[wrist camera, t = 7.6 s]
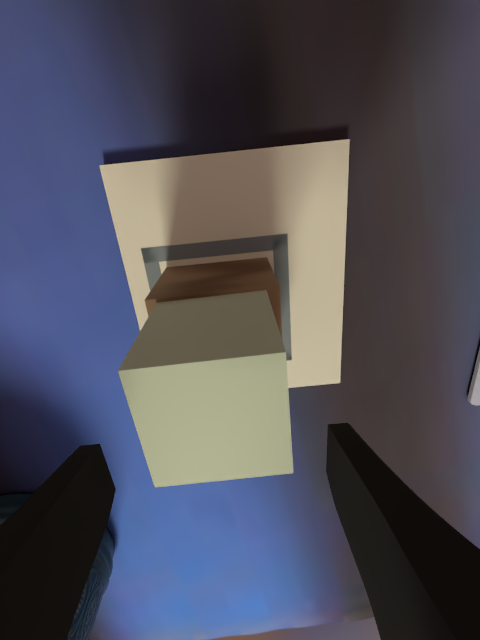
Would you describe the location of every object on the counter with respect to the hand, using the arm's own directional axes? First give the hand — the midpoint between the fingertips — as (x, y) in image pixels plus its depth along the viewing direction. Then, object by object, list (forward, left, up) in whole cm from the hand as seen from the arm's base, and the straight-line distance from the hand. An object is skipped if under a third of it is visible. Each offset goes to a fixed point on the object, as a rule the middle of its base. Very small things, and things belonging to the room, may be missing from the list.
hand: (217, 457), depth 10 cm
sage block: (0, -2, -5) cm, 5 cm away
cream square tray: (-1, -2, -10) cm, 11 cm away
